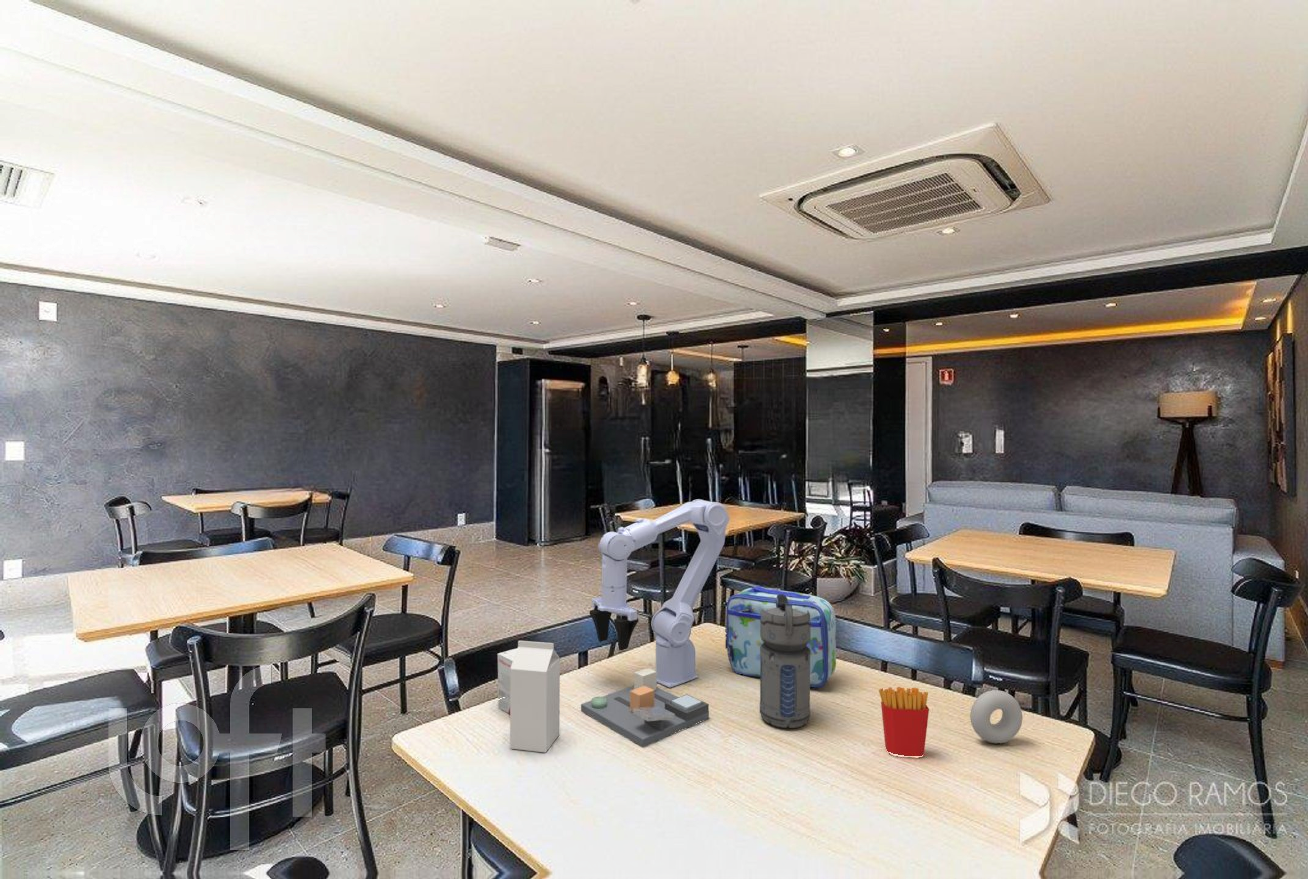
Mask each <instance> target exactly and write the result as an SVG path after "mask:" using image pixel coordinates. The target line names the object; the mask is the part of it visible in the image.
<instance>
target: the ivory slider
mask: <svg viewBox="0 0 1308 879" xmlns="http://www.w3.org/2000/svg"><path fill="white" fill-rule="evenodd" d="M633 676H634V677H633V686H634V689H637V688H640V687H643V686H647V687H649V688H651V689H653V690H657V687H658V686H657V684H658V682H657V672H656V670H654V669H651V668H649V667H646V668H644V669H640V670H637V671H634V672H633Z"/></svg>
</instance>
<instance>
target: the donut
mask: <svg viewBox="0 0 1308 879" xmlns="http://www.w3.org/2000/svg"><path fill="white" fill-rule="evenodd" d="M996 710H1000V711H1001V712H1002V713H1001V714H1002V715H1001V718H1000V720H999V721H998V722H996V723H991V716H992V714H993V713H994V712H995V711H996ZM969 717H970V723H971V727H972V729H973V730H974V732H975V734H977V736H979V738H980V739H982V740H983V741H986V742H988V743H990V744H997V743H1000V744H1003V743H1008V742H1009V741H1011V740H1012V739H1014V738H1015V736H1016V735H1018V734H1019V731H1020V730H1021V727H1022V724H1023V719H1024V718H1023V711H1022V708H1021V706H1020V704H1019V701H1017V700H1016V699H1015V697H1014V696H1012V695H1011V694H1009V693H1008V692H1005V691H1003V690H998V689H992V690H988V691H985V692H983V693H981V694H979V695H978V697H977V698H976V699H975V700H974V702H973V704H972V705H971V708H970V712H969Z"/></svg>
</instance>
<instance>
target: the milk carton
mask: <svg viewBox="0 0 1308 879" xmlns="http://www.w3.org/2000/svg"><path fill="white" fill-rule="evenodd" d="M554 645H555V643H552V642H542V641H541V642H540V641H528V640H518V641H517V651H516V654H515V657H514V660H513V662H512V665H511V668H510V714H509V716H510V717H509V723H510V725H509V730H510V731H509V748H510V749H512V750H520V751H528V752H529V751H530V752H536V753H537V752H539V753H547V751H548V750H549V749H550V748H551V746H552V745H553V743H554V742H555V741H556V739H557V738H558V737H559V735H560V721H561V720H560V714H561V713H560V708H561V706H560V704H561V702H560V701H561V698H560V696H561V694H560V693H561V691H560V687H561V685H560V683H561V680H560V679H561V675H560V674H561V660H560V658H561V657H560V656H559V655H558V654H557V652H556V650H555V647H554Z"/></svg>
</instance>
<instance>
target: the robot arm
mask: <svg viewBox="0 0 1308 879" xmlns="http://www.w3.org/2000/svg"><path fill="white" fill-rule="evenodd" d="M729 521H730V517H729V514H728V511H727V508H726V507H725V505H724V504H722V503H720V502H717V501H709V500H704V499H700V498H698V499H694V500H692V501H687V502H685V503H684V504H683V505H681V506H678V507H677V508H675V509H673V510H671V511H669V512H668V513H665V514H663V515H660V516H659V517H657V518H656V519H654V520H650V519H648V518H644V519H643V518H640V517H639V518H637V519H635V522H634V523H632V524H630V525H628V526H625V527H623V526H620V527H618V529H617V530H618V531H609V532H606V533H604V534H603V536H602V537H601V538H600V541H599V543H598V546H597V548H598V550H599V552H600V553H601V555H602V557H601V558H602V560H601V564H602V565H601V597H593V598H591V608H593V609H591V610H589V615H590V617H591V620H592V621H593V624H594V627H595V631H596V635H597V640H598V642H600V643H601V642H603V641H607V640H608V639H609V628H610V622H611V617H612V614H614V615H617V616H620V617H619V618H615V619H613V622H614V625H615V627H616V628H615V629H616V632H617V648H618V650H619V651H624V650H627V649H629V646H630V641H631V637H632V635H633V632H634V630H635V627H636V626H637V625H638V623H639V618H638V610H636V609H634V608H632V607H631V606H630V605H629V604H628V603H627V589H628V588H627V587H628V586H627V582H628V579H627V578H628V558H629V557H630V555H631V554H632V552H634V551H637V550H638V549H640V548H643V547H645V546H647V545H649V544H651V543H653V542H655V541H656V540H657V537H658V535H659V534H662V533H664V532H667V531H669V530H671V529H674V528H676V527H680V526H681V525H684V524H687V523H689V524H692V526H693V527H694V528H695V530H696V532H697V533H698V536H699V539H700V542H699V544H698V546H697V548H696V550H695V551H694V554H693V556H692V558H691V560H690V562H689V564H688V566H687V568H686V570H685V572H684V573H683V575H682V578H681V580H680V581H679V583H678V586H677V588H676V589H675V591H674V593H673V595H672V597H671V598H670V599H668V600H666V601H664V603H663V604H662V605H661V607H660V609H659V610H658V611H656V612H655V613H654V614H653V616H652V617H651V623H650V625H651V629H652V631H653V632H654V633H655V671H656V672H657V684H658V683H659V684H661V685H663V686H665V687H667V688H670V689H671V688H674V687H676V686H680V685H682V684H684V683H686V682H690V681H691V680H692V681H693V680H695V679H697V678H698V677H699V676H698V675H697V674H696V647H695V645H694V643H693V642H692V640H691V639H690V637H691V634H692V626H693V623H694V622H695V616H694V612H693V609H694V606H695V604H696V602H697V599H698V598H699V595H700V594H701V592H702V590H703V587H704V586H705V584H706V581H707V580H708V577H709V576H710V574H711V572H712V569H713V568H714V565H715V564H716V562H717V559H718V557H719V556H720V554H721V551H722V549H723V548H724V545H725V541H726V540H725V539H726V531H727V530H726V529H727V525H728V524H729Z"/></svg>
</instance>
